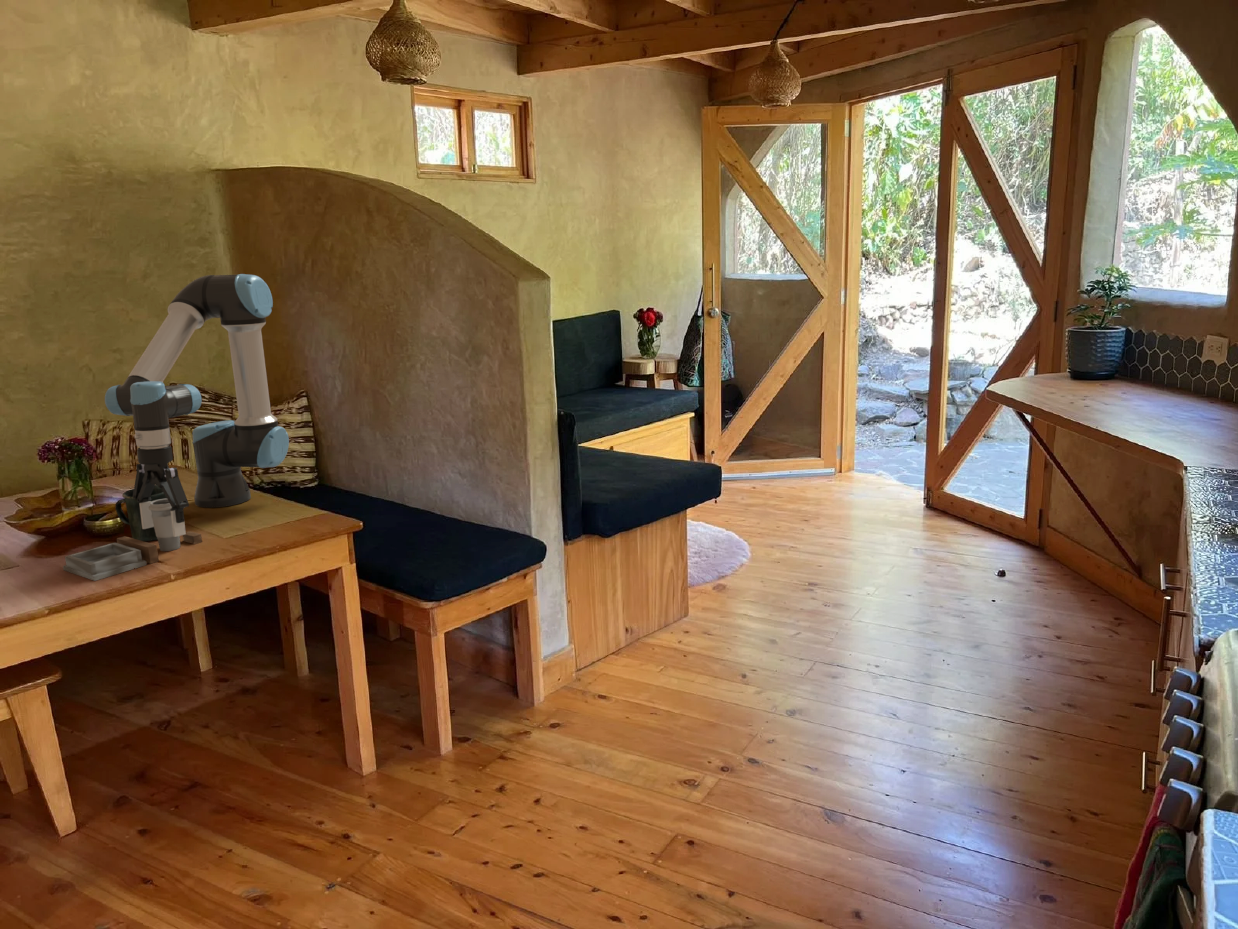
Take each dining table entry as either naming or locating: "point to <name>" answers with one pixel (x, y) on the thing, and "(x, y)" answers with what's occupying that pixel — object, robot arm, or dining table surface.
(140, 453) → the robot arm
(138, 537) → the mug
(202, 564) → the dining table surface
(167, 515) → the cup
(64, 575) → the dining table surface
